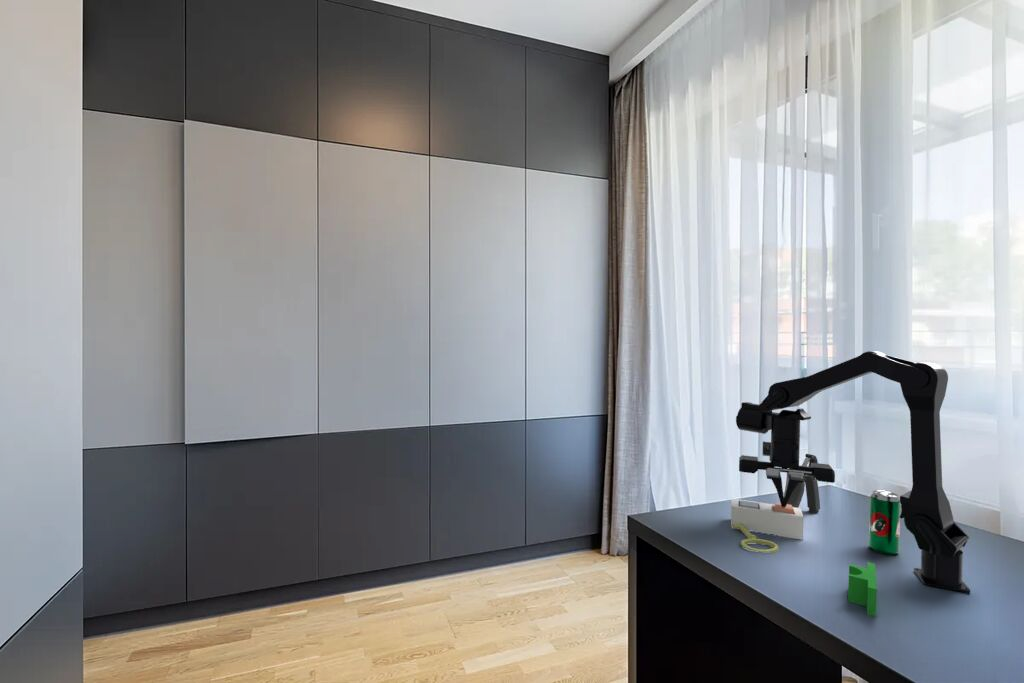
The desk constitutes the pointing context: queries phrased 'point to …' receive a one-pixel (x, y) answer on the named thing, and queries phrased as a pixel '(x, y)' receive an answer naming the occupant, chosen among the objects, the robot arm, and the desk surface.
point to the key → (754, 540)
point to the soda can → (884, 522)
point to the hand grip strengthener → (807, 489)
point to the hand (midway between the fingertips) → (783, 506)
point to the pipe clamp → (863, 586)
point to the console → (768, 519)
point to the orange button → (783, 508)
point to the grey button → (749, 504)
